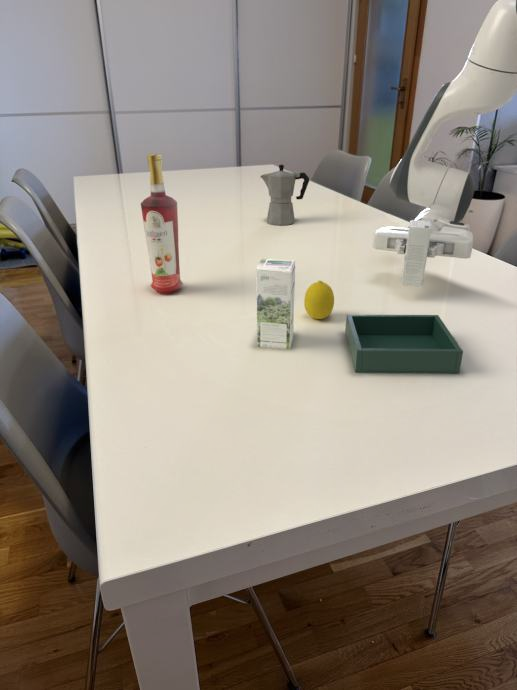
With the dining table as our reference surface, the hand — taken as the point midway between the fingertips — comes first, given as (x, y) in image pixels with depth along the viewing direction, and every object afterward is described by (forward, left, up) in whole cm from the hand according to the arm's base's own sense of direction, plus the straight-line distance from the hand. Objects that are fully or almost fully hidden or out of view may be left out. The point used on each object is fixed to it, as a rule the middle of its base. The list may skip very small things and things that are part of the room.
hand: (415, 252), depth 103 cm
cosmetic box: (0, -1, -7) cm, 7 cm away
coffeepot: (+26, -67, -10) cm, 72 cm away
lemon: (+20, +12, -10) cm, 25 cm away
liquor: (+52, -4, -10) cm, 53 cm away
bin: (+8, +26, -10) cm, 29 cm away
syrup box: (+28, +22, -10) cm, 37 cm away
